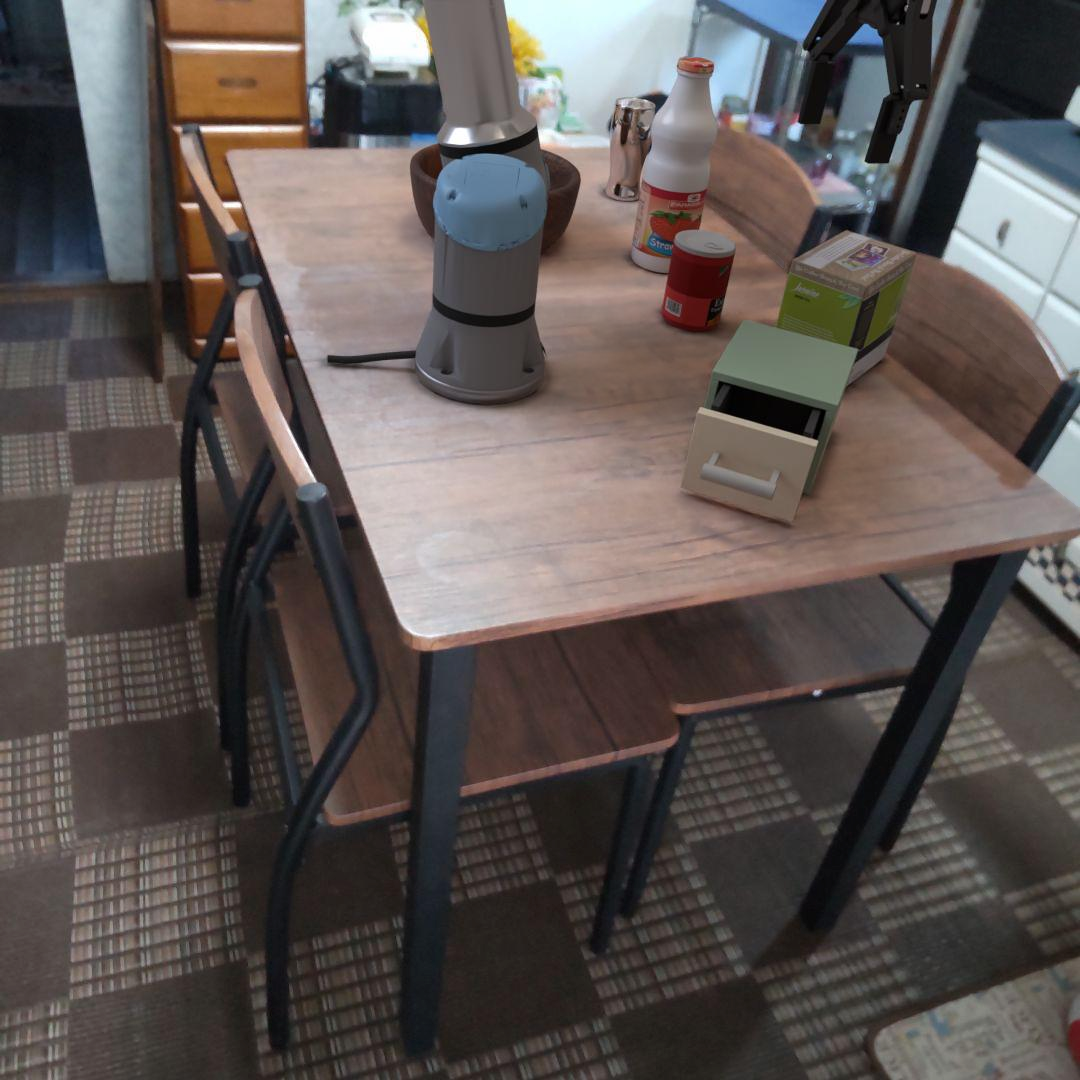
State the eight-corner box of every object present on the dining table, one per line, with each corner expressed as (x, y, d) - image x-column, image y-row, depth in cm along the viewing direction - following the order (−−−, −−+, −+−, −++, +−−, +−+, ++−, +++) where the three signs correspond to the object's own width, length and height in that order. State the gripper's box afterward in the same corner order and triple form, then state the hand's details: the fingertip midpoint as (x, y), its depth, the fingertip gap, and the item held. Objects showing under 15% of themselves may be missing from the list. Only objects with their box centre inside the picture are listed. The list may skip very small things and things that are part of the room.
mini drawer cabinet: (809, 494, 104) (838, 405, 97) (692, 459, 107) (712, 370, 100) (831, 433, 114) (858, 348, 108) (723, 403, 117) (743, 319, 111)
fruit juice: (670, 246, 154) (706, 51, 137) (704, 271, 148) (745, 69, 131) (618, 252, 151) (648, 51, 133) (650, 277, 144) (686, 70, 127)
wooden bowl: (560, 279, 141) (569, 207, 134) (389, 252, 142) (389, 180, 136) (583, 218, 160) (591, 153, 154) (431, 195, 162) (433, 129, 156)
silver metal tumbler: (596, 188, 172) (608, 96, 163) (633, 187, 174) (647, 97, 165) (610, 202, 167) (623, 109, 158) (648, 202, 169) (663, 109, 160)
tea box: (816, 332, 135) (847, 226, 126) (885, 360, 130) (922, 251, 121) (762, 368, 125) (791, 255, 116) (834, 399, 121) (870, 284, 112)
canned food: (717, 336, 131) (735, 257, 124) (657, 326, 132) (672, 246, 125) (720, 312, 137) (738, 235, 130) (663, 302, 138) (677, 225, 131)
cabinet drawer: (783, 546, 95) (808, 469, 89) (668, 509, 98) (684, 432, 92) (815, 460, 107) (838, 388, 102) (711, 430, 110) (728, 358, 105)
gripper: (1018, -51, 92) (937, 180, 105) (862, -93, 110) (809, 109, 123) (954, -56, 89) (878, 181, 102) (805, -98, 107) (757, 108, 120)
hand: (840, 142), depth 113 cm, fingers open, 13 cm apart
